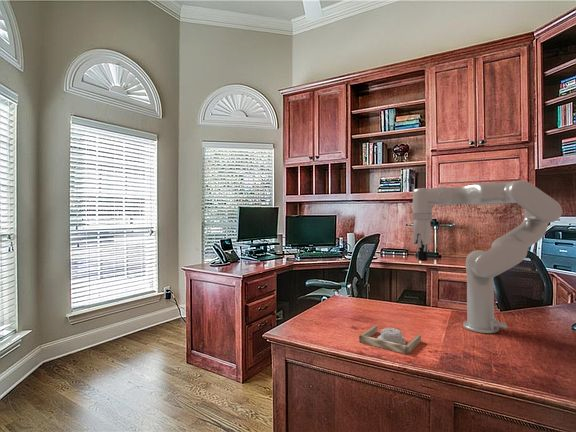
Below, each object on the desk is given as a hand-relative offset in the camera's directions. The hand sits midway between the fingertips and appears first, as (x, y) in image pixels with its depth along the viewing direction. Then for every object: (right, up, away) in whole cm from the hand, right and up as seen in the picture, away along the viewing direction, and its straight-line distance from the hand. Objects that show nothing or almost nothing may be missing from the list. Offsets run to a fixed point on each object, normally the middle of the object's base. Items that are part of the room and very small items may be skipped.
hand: (423, 260), depth 144 cm
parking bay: (-19, -28, -18) cm, 38 cm away
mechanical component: (-19, -28, -18) cm, 39 cm away
